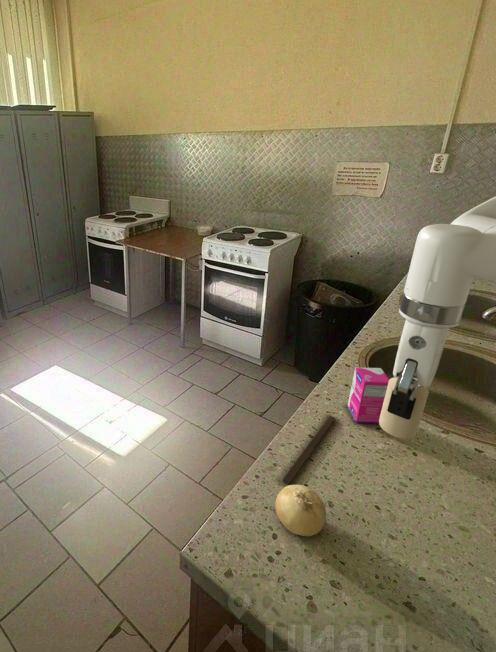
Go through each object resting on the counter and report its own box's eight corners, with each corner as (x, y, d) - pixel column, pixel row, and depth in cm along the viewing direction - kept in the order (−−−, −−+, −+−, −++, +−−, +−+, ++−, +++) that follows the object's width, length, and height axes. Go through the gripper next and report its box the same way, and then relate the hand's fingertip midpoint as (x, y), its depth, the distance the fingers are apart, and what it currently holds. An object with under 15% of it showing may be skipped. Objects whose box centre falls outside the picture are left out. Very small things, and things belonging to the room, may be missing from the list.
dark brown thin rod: (334, 420, 90) (335, 417, 90) (288, 484, 75) (289, 482, 74) (329, 417, 91) (329, 415, 91) (282, 481, 75) (282, 479, 75)
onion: (264, 509, 70) (268, 480, 67) (299, 494, 73) (304, 466, 70) (296, 551, 63) (301, 520, 60) (334, 533, 66) (341, 503, 63)
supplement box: (346, 406, 94) (354, 366, 90) (372, 408, 94) (382, 367, 89) (354, 423, 89) (364, 381, 85) (383, 425, 88) (394, 383, 84)
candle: (380, 433, 66) (392, 384, 63) (377, 413, 71) (388, 366, 67) (419, 443, 64) (434, 393, 60) (413, 421, 69) (427, 373, 65)
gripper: (452, 337, 51) (419, 445, 58) (469, 296, 62) (439, 390, 69) (386, 320, 56) (363, 422, 63) (413, 285, 67) (390, 374, 74)
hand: (403, 404), depth 66 cm, fingers closed on candle, 5 cm apart
